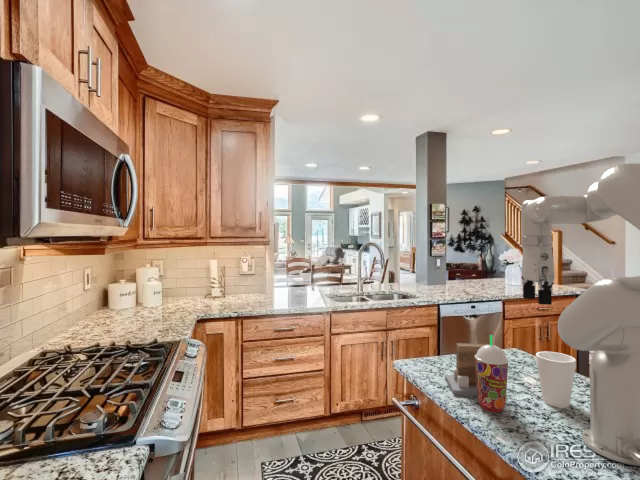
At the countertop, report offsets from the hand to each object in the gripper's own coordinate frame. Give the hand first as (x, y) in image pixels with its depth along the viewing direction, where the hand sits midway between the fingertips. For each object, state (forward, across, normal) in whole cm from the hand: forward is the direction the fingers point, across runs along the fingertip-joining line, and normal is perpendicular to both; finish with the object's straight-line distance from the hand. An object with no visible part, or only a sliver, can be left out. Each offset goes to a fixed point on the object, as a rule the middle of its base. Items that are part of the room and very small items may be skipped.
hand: (536, 301), depth 102 cm
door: (+27, +5, +16) cm, 32 cm away
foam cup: (+28, -2, -4) cm, 29 cm away
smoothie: (+28, -8, +15) cm, 33 cm away
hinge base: (+28, +5, +16) cm, 33 cm away
